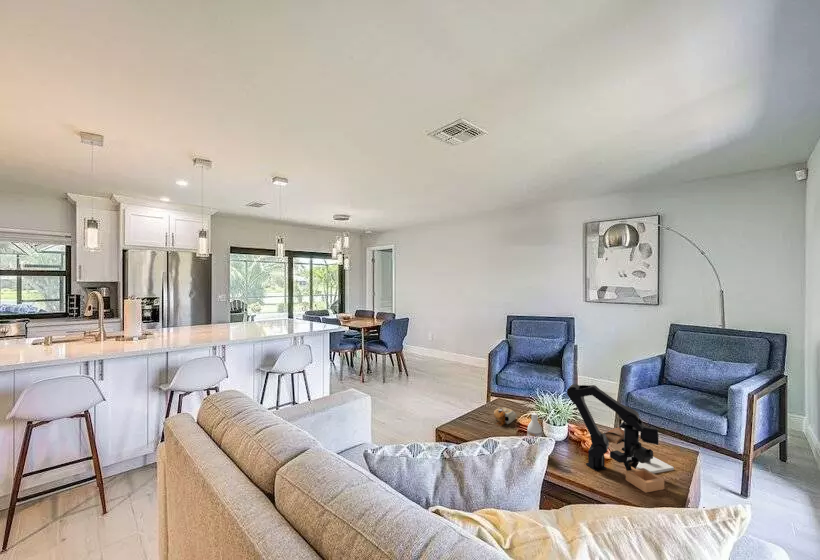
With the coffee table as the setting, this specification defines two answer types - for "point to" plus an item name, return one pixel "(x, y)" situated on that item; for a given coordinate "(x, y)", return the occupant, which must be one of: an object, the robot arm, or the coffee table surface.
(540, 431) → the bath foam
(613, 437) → the sunglasses case
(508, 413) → the nautilus
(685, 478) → the coffee table surface
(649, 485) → the orange link
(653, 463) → the board
